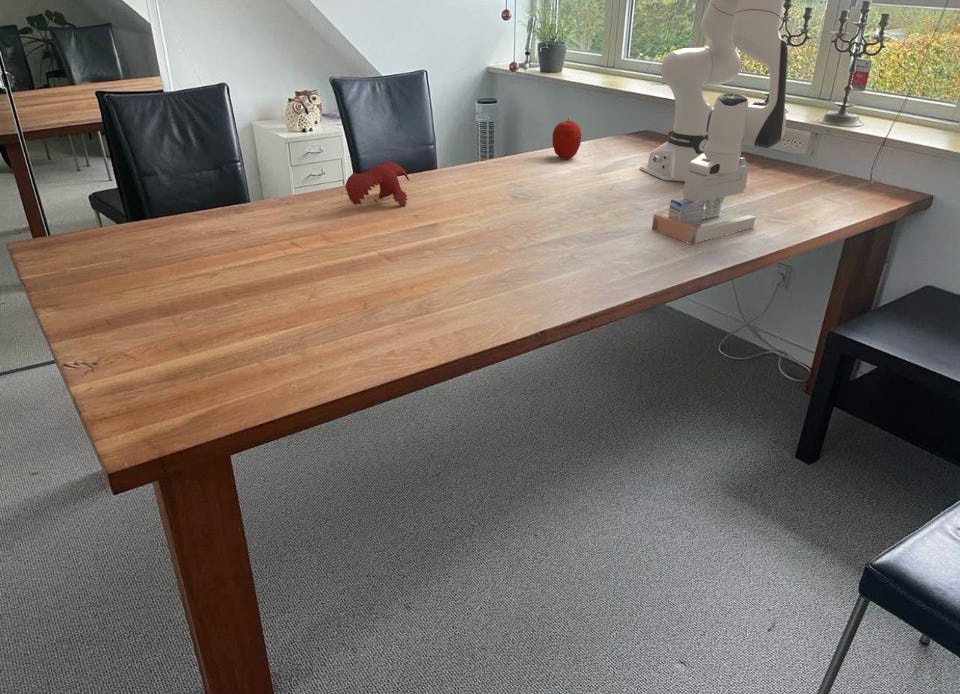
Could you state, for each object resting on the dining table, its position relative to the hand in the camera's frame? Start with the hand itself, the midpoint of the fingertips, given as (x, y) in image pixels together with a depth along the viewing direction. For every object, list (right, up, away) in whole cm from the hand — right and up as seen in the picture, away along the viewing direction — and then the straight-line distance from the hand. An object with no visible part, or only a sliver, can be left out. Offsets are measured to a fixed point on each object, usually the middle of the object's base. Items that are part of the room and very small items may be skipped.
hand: (711, 213), depth 186 cm
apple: (-31, +31, +63) cm, 77 cm away
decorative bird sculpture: (-88, +6, +15) cm, 90 cm away
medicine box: (-8, -5, -2) cm, 10 cm away
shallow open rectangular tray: (-2, -4, 0) cm, 4 cm away
